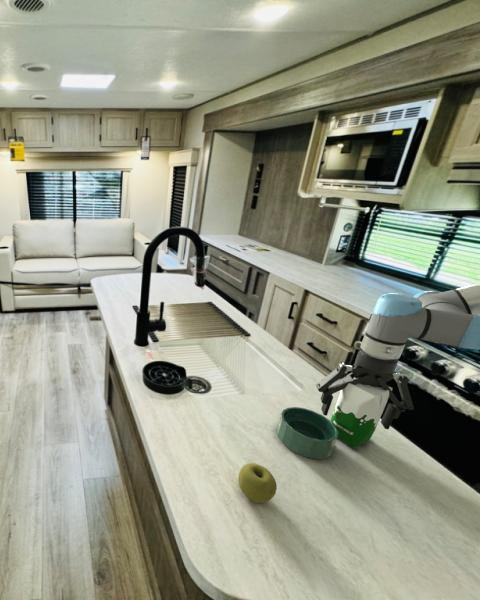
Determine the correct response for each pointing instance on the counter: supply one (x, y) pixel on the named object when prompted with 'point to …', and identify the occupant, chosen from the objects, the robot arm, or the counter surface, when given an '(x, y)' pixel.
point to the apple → (257, 483)
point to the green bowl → (307, 432)
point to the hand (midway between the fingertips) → (353, 418)
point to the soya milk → (359, 412)
